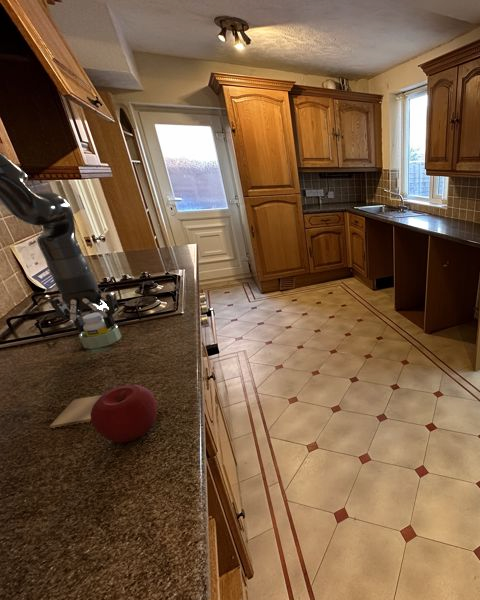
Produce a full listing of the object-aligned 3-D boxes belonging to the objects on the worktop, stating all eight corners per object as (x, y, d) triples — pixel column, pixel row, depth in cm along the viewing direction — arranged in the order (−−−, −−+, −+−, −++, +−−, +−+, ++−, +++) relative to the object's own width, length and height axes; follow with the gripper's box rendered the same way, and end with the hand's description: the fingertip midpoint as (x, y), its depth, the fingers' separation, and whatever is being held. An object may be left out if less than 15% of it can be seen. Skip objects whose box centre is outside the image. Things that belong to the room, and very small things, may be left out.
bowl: (79, 355, 89) (72, 340, 87) (96, 340, 96) (89, 325, 94) (114, 350, 91) (108, 335, 89) (128, 336, 98) (122, 321, 96)
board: (51, 428, 65) (49, 425, 65) (75, 402, 72) (73, 399, 72) (109, 418, 67) (108, 415, 67) (127, 393, 74) (126, 390, 74)
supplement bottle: (92, 353, 90) (77, 322, 86) (93, 344, 94) (79, 315, 89) (117, 346, 93) (104, 316, 89) (117, 338, 97) (104, 309, 93)
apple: (119, 461, 58) (96, 419, 54) (95, 440, 62) (73, 400, 58) (174, 425, 65) (158, 386, 61) (149, 409, 70) (133, 371, 66)
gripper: (112, 265, 89) (133, 319, 96) (48, 271, 85) (75, 326, 92) (97, 274, 82) (121, 331, 89) (27, 280, 79) (58, 339, 86)
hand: (97, 328), depth 91 cm, fingers open, 5 cm apart
